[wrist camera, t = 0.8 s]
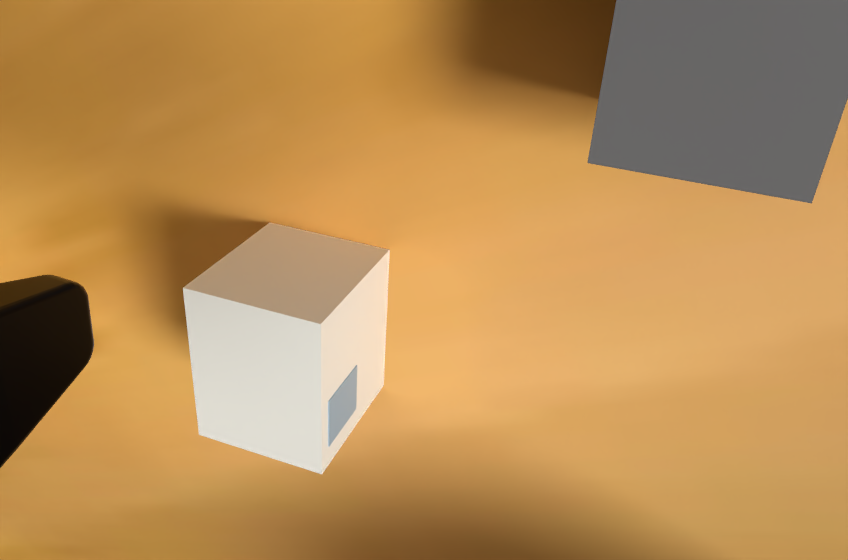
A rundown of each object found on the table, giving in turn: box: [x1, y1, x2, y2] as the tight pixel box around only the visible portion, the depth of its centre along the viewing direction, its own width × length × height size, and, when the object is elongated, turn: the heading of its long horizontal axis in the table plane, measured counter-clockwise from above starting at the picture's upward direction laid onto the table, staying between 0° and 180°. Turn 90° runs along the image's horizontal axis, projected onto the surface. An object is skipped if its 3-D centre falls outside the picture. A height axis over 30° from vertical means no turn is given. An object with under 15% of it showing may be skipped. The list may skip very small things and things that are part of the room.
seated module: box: [588, 0, 848, 203], centre depth 15 cm, size 5×4×4 cm
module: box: [183, 222, 390, 474], centre depth 22 cm, size 5×4×4 cm
